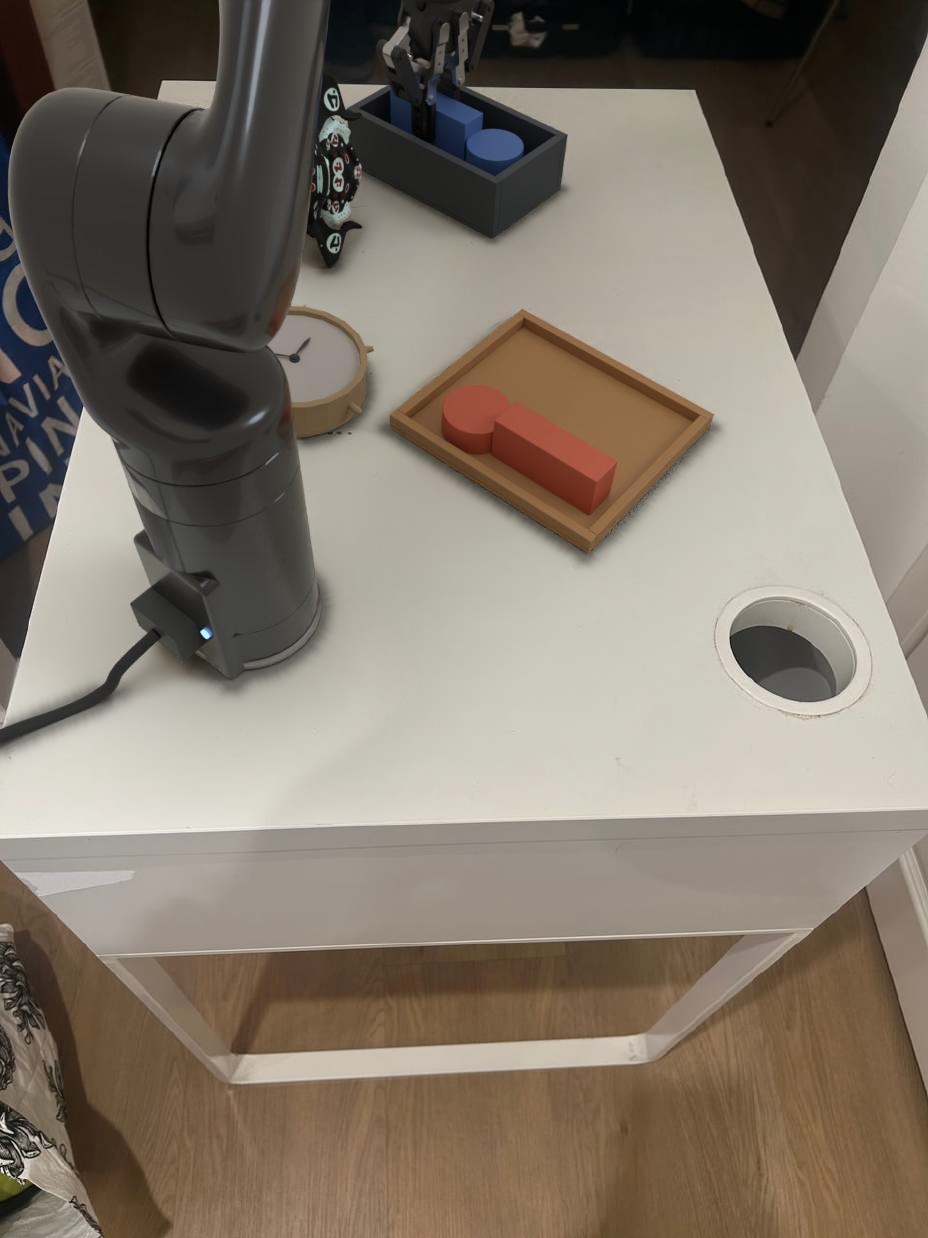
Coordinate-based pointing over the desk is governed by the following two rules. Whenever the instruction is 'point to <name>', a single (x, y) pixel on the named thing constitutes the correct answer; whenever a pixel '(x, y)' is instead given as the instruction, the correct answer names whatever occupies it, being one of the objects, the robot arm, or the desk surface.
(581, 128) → the desk surface
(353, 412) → the alarm clock
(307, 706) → the desk surface
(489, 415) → the red spoon
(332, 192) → the figurine
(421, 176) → the bin
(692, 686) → the desk surface
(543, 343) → the tray
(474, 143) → the blue spoon
